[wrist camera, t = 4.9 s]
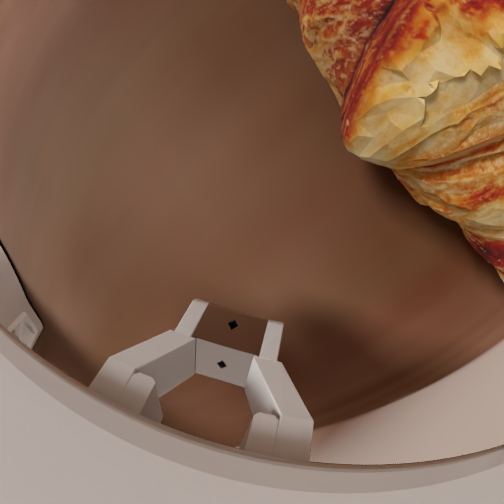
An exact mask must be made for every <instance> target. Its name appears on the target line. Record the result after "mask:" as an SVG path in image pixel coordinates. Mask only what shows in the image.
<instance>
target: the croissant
mask: <svg viewBox="0 0 504 504" xmlns="http://www.w3.org/2000/svg"><path fill="white" fill-rule="evenodd" d="M286 1H287V4H288V5H289V6H290V7H291V9H292V10H293V11H294V12H295V14H296V15H297V16H298V17H299V18H300V27H301V34H302V39H303V41H304V44H305V47H306V49H307V50H308V52H309V54H310V55H311V57H312V59H313V60H314V62H315V64H316V65H317V67H318V69H319V70H320V72H321V74H322V75H323V77H324V78H325V79H326V80H327V82H328V83H329V85H330V87H331V89H332V90H333V92H334V94H335V96H336V98H337V100H338V103H339V105H340V108H341V111H342V114H341V117H340V120H341V123H342V127H341V134H342V139H343V144H344V145H345V147H346V148H347V149H348V151H350V152H352V153H353V154H355V155H357V156H359V157H360V158H361V159H362V160H365V161H368V162H371V163H374V164H377V165H381V166H385V167H388V168H390V169H391V170H392V171H393V172H394V174H395V176H396V177H397V179H398V180H399V181H400V182H401V183H402V184H403V185H404V187H405V188H406V189H407V191H408V192H409V193H410V194H411V196H412V197H413V198H414V200H415V201H417V202H418V203H419V204H421V205H426V206H429V207H431V208H432V209H433V210H434V211H435V212H437V213H439V214H440V215H442V216H444V217H445V218H448V219H450V220H453V221H456V222H457V223H458V224H459V226H460V227H461V228H462V231H463V234H464V235H465V237H466V238H467V240H468V241H469V243H470V244H471V246H472V247H473V248H474V249H475V250H476V251H477V252H478V253H479V254H480V255H481V256H482V257H483V258H484V259H485V260H487V261H488V262H489V263H491V264H492V265H494V267H495V268H496V270H497V272H498V274H499V276H500V278H501V279H502V280H503V282H504V0H286Z"/></svg>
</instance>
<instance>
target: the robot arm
mask: <svg viewBox="0 0 504 504" xmlns="http://www.w3.org/2000/svg"><path fill="white" fill-rule="evenodd" d="M283 327H284V324H283V322H279V321H275V320H270V319H266V318H262V317H258V316H254V315H250V314H246V313H243V312H238V311H235V310H232V309H229V308H225V307H222V306H219V305H216V304H213V303H208V302H205V301H202V300H199V299H196V298H195V299H194V300H193V301H192V302H191V304H190V306H189V307H188V309H187V311H186V313H185V314H184V316H183V318H182V319H181V321H180V323H179V324H178V326H177V328H176V329H175V331H173V330H169V331H166V332H164V333H162V334H160V335H158V336H155V337H153V338H151V339H149V340H147V341H144V342H142V343H140V344H138V345H135V346H133V347H131V348H129V349H126V350H124V351H122V352H119V353H117V354H115V355H113V356H110V357H109V358H108V360H107V361H106V362H105V364H104V365H103V367H102V368H101V370H100V371H99V372H98V374H97V375H96V377H95V378H94V380H93V381H92V383H91V384H90V386H89V387H86V386H84V385H83V384H81V383H79V382H78V381H76V380H75V379H73V378H71V377H70V376H68V375H67V374H65V373H64V372H62V371H61V370H59V369H58V368H56V367H55V366H53V365H52V364H50V363H49V362H48V361H46V360H45V359H43V358H42V357H41V356H39V355H38V354H37V353H35V352H34V351H33V350H32V348H33V346H34V344H35V343H36V341H37V339H38V337H39V335H40V333H41V331H42V329H43V325H42V323H41V321H40V320H39V318H38V317H37V315H36V314H35V312H34V311H33V309H32V307H31V306H30V304H29V303H28V301H27V299H26V296H25V294H24V292H23V289H22V287H21V285H20V283H19V280H18V278H17V276H16V274H15V272H14V270H13V268H12V266H11V264H10V262H9V260H8V258H7V257H6V255H5V253H4V251H3V249H2V248H1V246H0V504H504V445H501V446H497V447H494V448H491V449H487V450H483V451H480V452H475V453H471V454H467V455H462V456H457V457H452V458H446V459H440V460H433V461H426V462H417V463H404V464H386V465H351V464H331V463H319V462H310V461H309V458H310V451H311V442H312V434H313V424H314V421H313V419H312V417H311V416H310V414H309V412H308V410H307V408H306V406H305V405H304V403H303V401H302V399H301V397H300V395H299V394H298V392H297V390H296V388H295V386H294V384H293V382H292V381H291V379H290V377H289V375H288V373H287V371H286V369H285V367H284V366H283V364H282V362H278V361H277V360H278V355H279V349H280V344H281V338H282V333H283ZM195 373H198V374H202V375H205V376H208V377H212V378H215V379H219V380H222V381H225V382H228V383H232V384H235V385H238V386H241V387H244V390H245V393H246V396H247V399H248V402H249V405H250V408H251V411H252V414H253V419H252V421H251V423H250V425H249V427H248V429H247V431H246V433H245V435H244V437H243V439H242V441H241V444H240V447H239V449H238V448H234V447H230V446H226V445H223V444H219V443H216V442H212V441H209V440H206V439H203V438H200V437H196V436H193V435H191V434H188V433H185V432H182V431H179V430H177V429H174V428H171V427H169V426H166V425H164V424H161V421H162V418H163V415H162V410H161V406H160V402H159V397H161V396H162V395H164V394H165V393H167V392H169V391H170V390H172V389H173V388H175V387H176V386H178V385H179V384H181V383H182V382H183V381H185V380H186V379H188V378H189V377H191V376H192V375H194V374H195Z"/></svg>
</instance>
